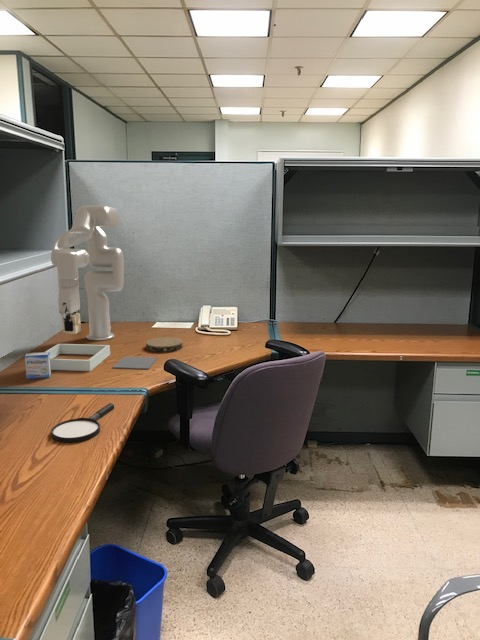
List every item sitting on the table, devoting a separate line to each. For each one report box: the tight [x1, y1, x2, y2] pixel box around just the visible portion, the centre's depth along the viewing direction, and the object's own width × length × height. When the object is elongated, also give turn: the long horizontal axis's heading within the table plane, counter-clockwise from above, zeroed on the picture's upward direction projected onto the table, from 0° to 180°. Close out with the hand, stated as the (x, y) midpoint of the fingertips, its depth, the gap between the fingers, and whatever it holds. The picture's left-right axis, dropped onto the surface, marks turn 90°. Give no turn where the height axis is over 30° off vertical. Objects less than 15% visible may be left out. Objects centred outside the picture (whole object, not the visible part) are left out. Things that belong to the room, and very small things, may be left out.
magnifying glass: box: [50, 402, 115, 444], centre depth 138 cm, size 12×24×2 cm, turn 163°
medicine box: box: [24, 351, 52, 380], centre depth 176 cm, size 8×4×9 cm, turn 105°
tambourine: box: [145, 336, 184, 354], centre depth 215 cm, size 16×16×3 cm
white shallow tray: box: [44, 343, 111, 372], centre depth 194 cm, size 22×22×4 cm
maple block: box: [61, 313, 82, 335], centre depth 192 cm, size 5×5×7 cm
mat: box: [111, 356, 158, 370], centre depth 193 cm, size 14×14×1 cm
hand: (72, 328), depth 192 cm, fingers closed on maple block, 5 cm apart
